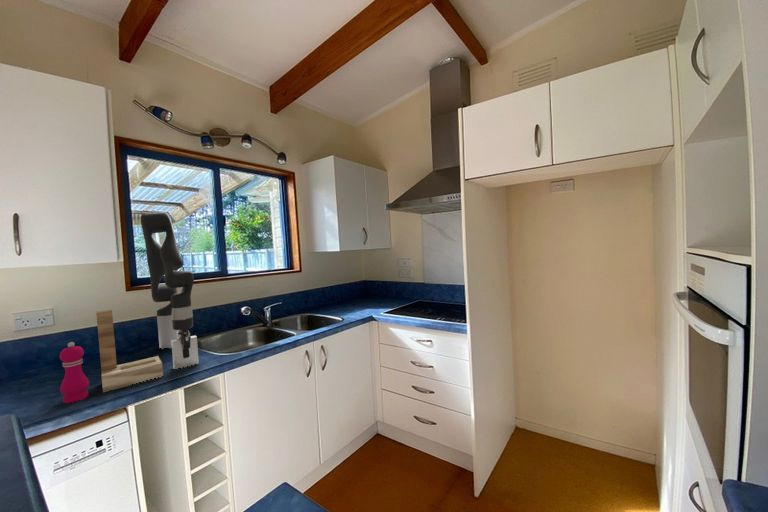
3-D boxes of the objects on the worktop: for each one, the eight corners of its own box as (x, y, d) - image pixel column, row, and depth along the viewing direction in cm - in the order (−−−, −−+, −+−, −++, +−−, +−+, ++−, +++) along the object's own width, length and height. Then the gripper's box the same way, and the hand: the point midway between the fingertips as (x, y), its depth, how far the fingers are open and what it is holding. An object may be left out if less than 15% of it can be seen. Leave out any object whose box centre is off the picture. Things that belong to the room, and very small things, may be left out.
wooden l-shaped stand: (102, 382, 122) (96, 311, 121) (158, 368, 134) (153, 303, 133) (103, 392, 113) (96, 315, 112) (163, 376, 126) (157, 307, 124)
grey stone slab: (173, 368, 134) (171, 340, 134) (197, 362, 140) (195, 335, 140) (174, 370, 132) (172, 341, 131) (198, 363, 138) (196, 336, 138)
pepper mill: (93, 392, 114) (88, 337, 114) (86, 400, 108) (80, 342, 107) (66, 397, 111) (61, 341, 110) (57, 406, 105) (51, 347, 104)
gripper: (169, 316, 138) (172, 355, 139) (175, 321, 128) (178, 363, 128) (189, 313, 143) (191, 350, 144) (196, 317, 133) (199, 358, 133)
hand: (185, 356), depth 136 cm, fingers closed on grey stone slab, 3 cm apart
